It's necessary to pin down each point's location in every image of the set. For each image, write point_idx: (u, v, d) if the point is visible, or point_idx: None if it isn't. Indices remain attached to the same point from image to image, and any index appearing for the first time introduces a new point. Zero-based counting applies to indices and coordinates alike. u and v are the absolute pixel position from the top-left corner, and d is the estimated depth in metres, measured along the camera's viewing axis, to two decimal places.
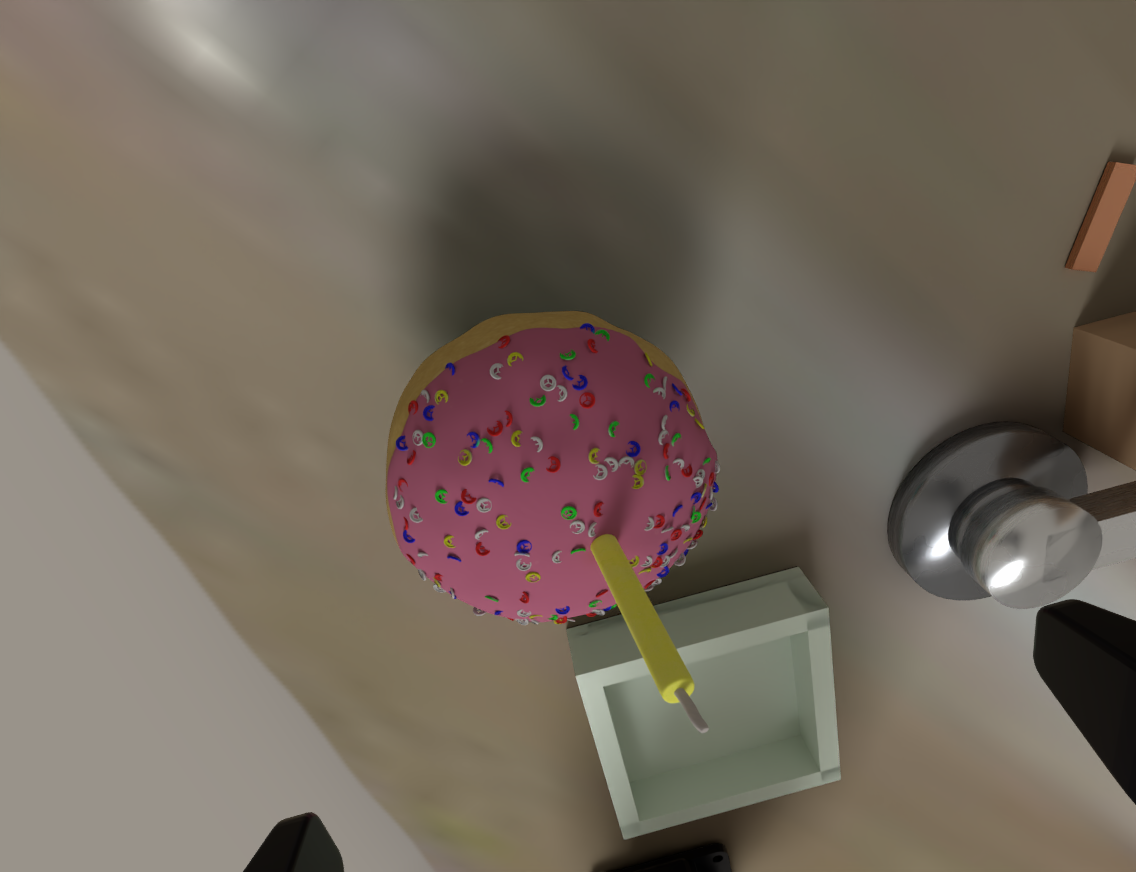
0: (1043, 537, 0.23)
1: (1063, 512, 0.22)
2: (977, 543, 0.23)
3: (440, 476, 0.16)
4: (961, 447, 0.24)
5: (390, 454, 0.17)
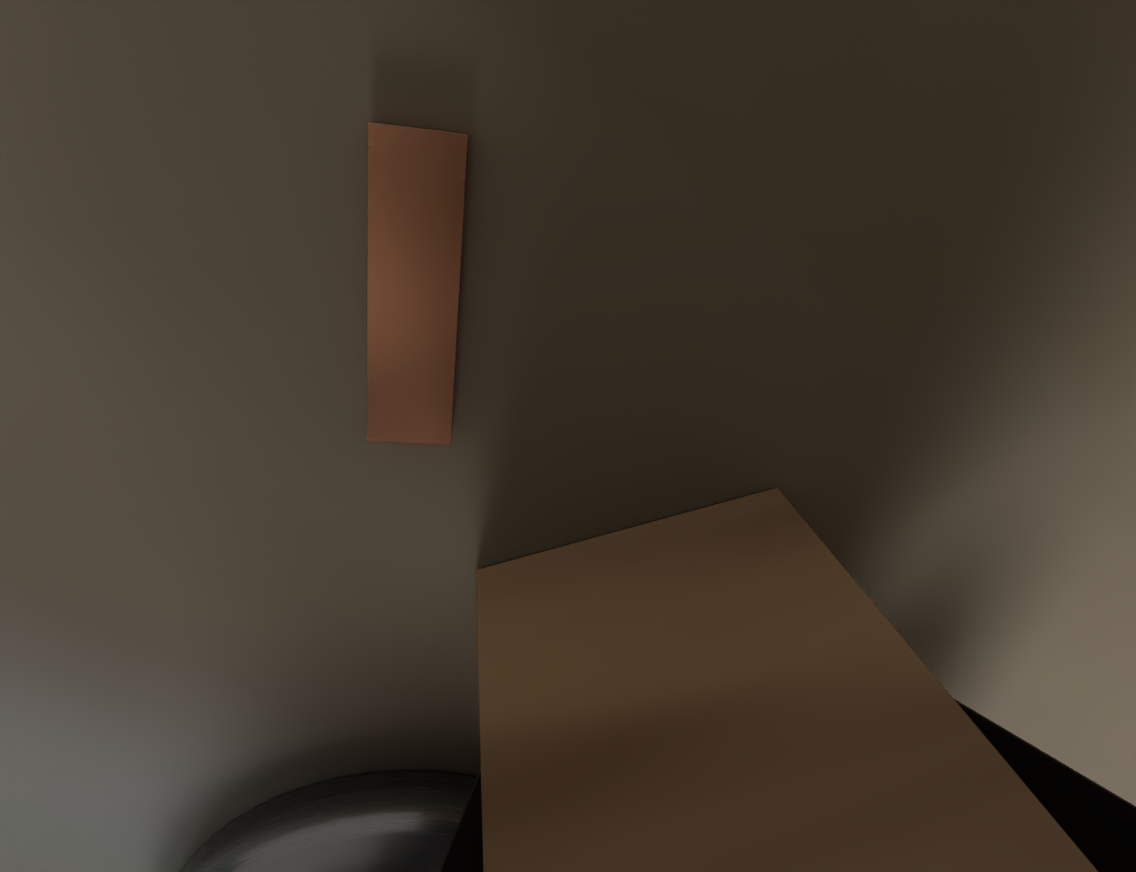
0: None
1: None
2: None
3: None
4: (227, 859, 0.10)
5: None
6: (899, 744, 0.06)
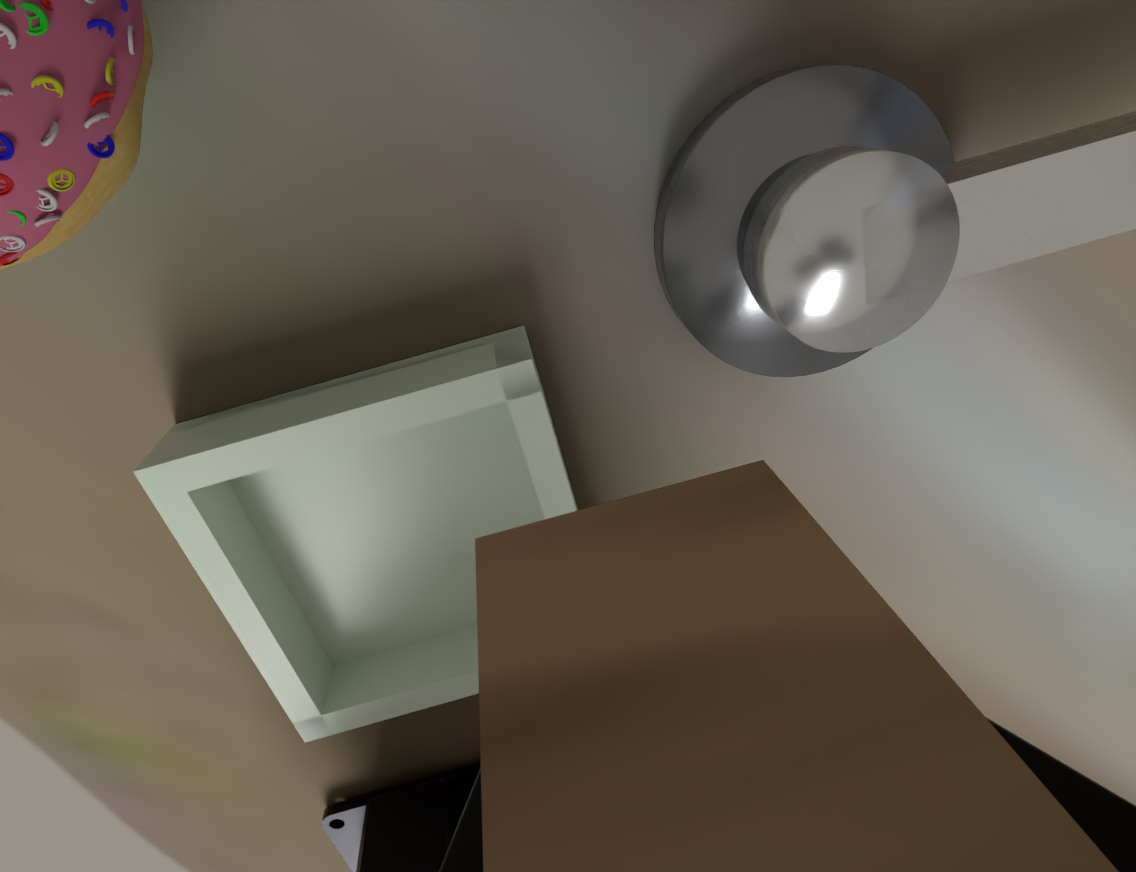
0: (855, 212, 0.14)
1: (884, 161, 0.13)
2: (757, 239, 0.14)
3: None
4: (740, 96, 0.15)
5: None
6: (868, 682, 0.06)
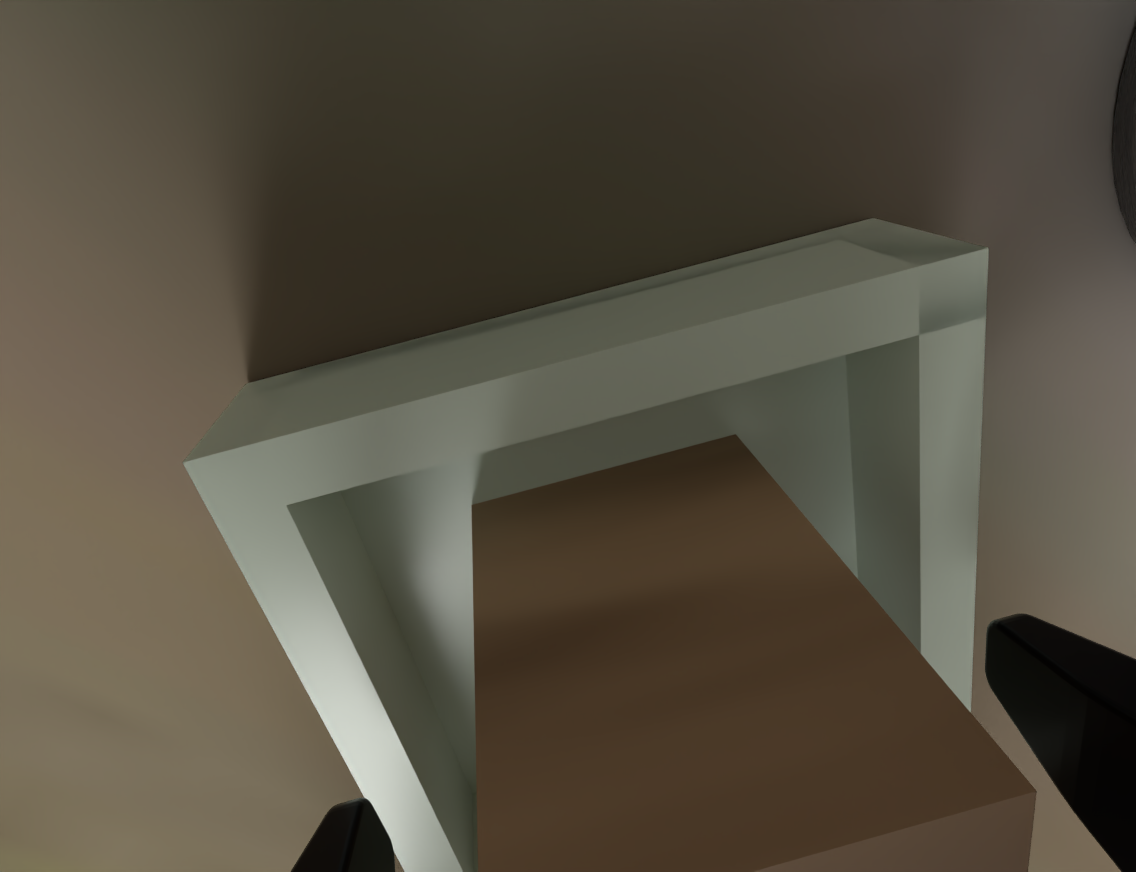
0: None
1: None
2: None
3: None
4: None
5: None
6: (813, 615, 0.07)
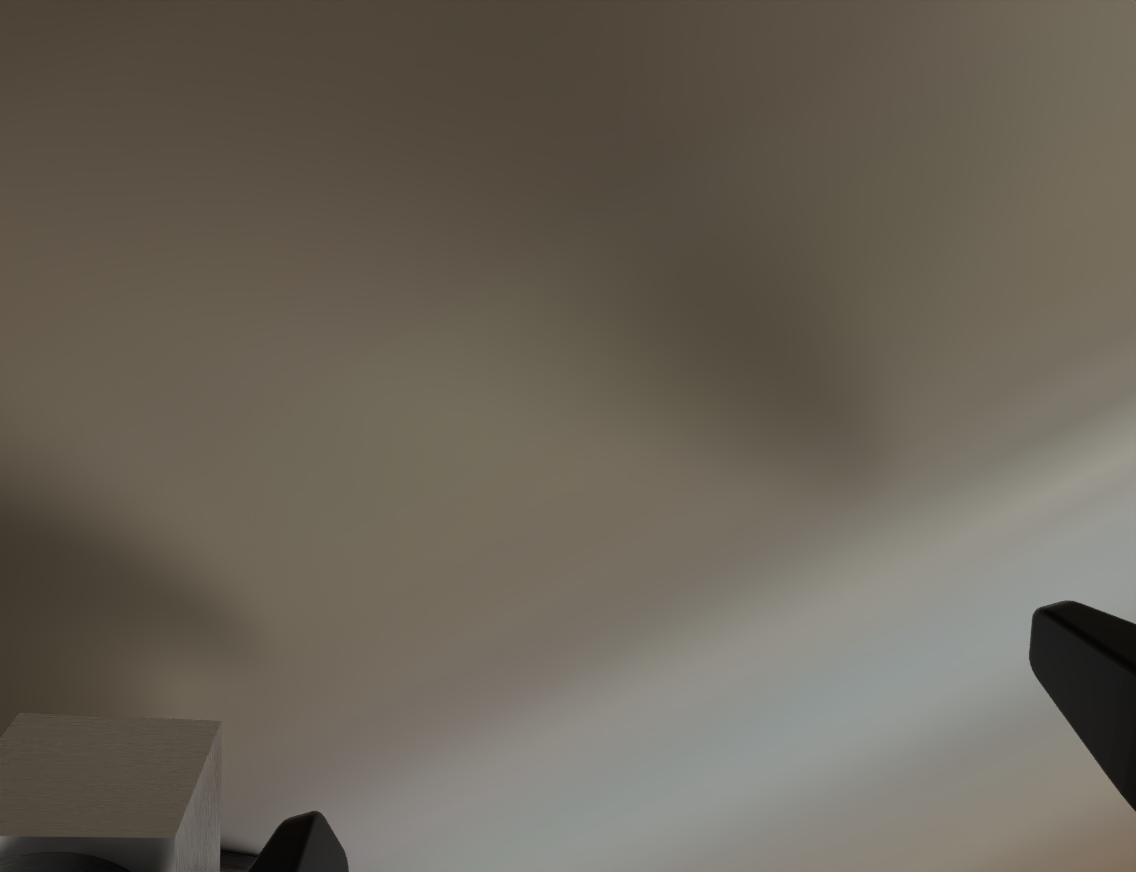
0: None
1: None
2: None
3: None
4: None
5: None
6: None
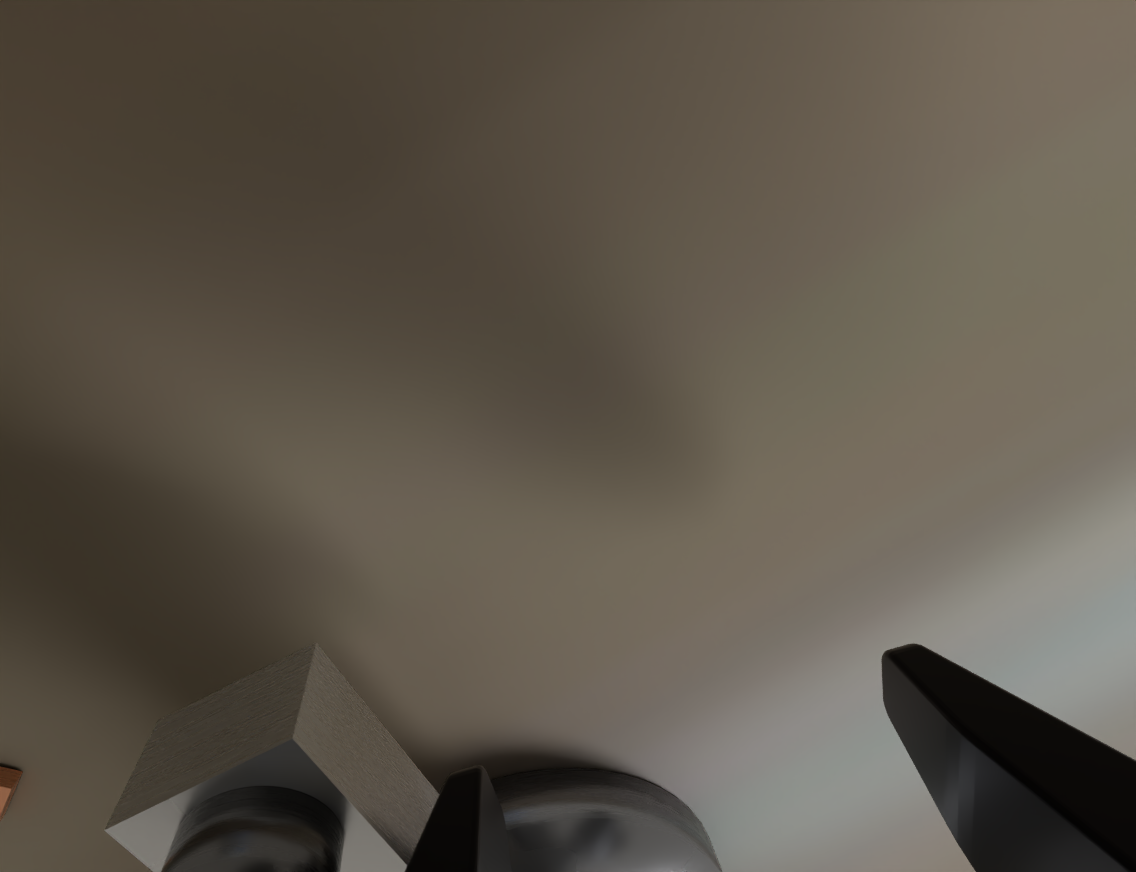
0: None
1: None
2: None
3: None
4: None
5: None
6: None
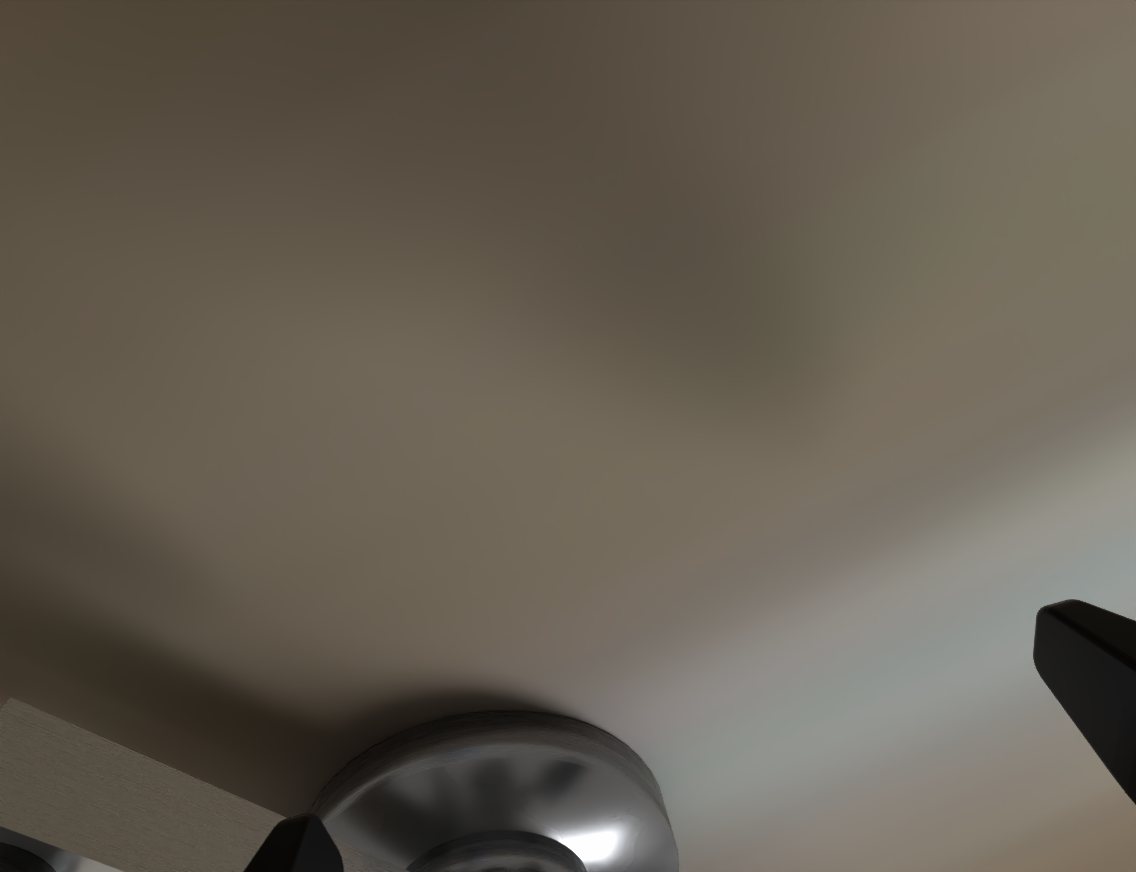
0: None
1: None
2: None
3: None
4: None
5: None
6: None
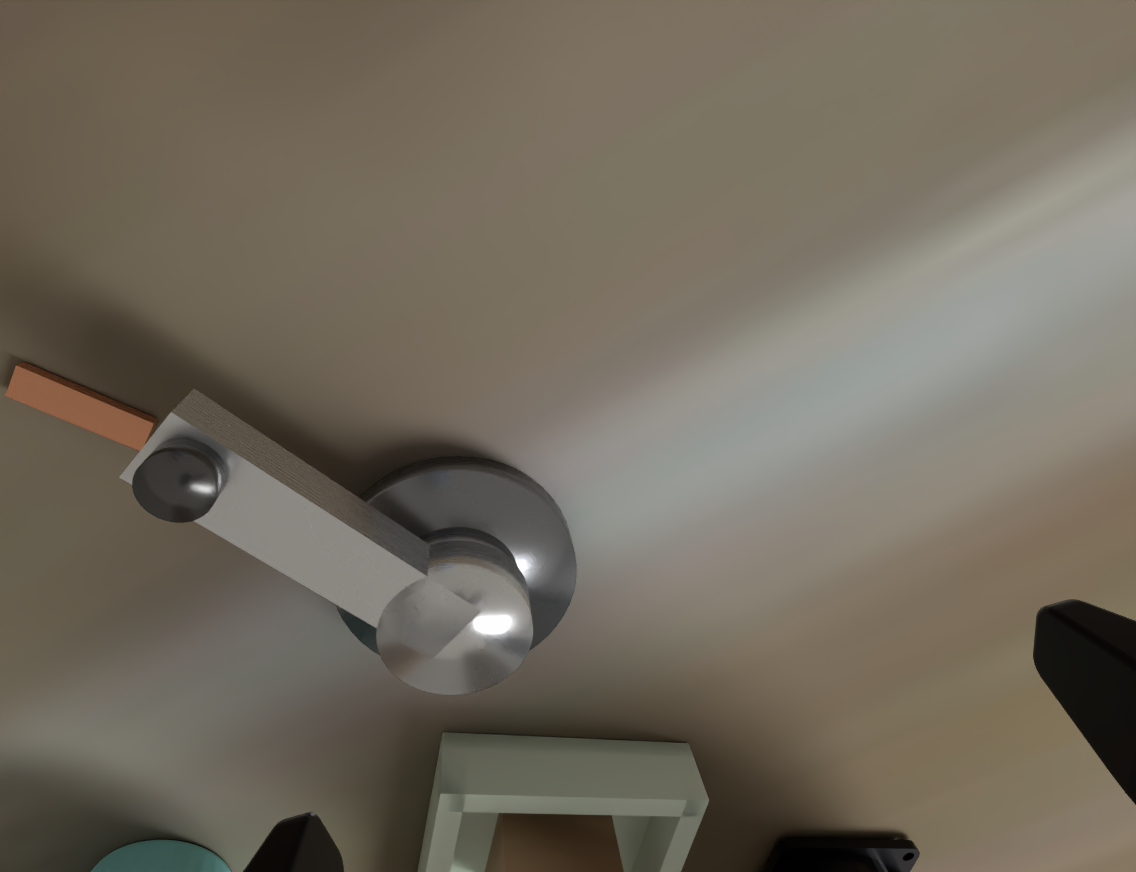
0: (435, 661, 0.18)
1: (398, 669, 0.18)
2: None
3: None
4: None
5: None
6: None
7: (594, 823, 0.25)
